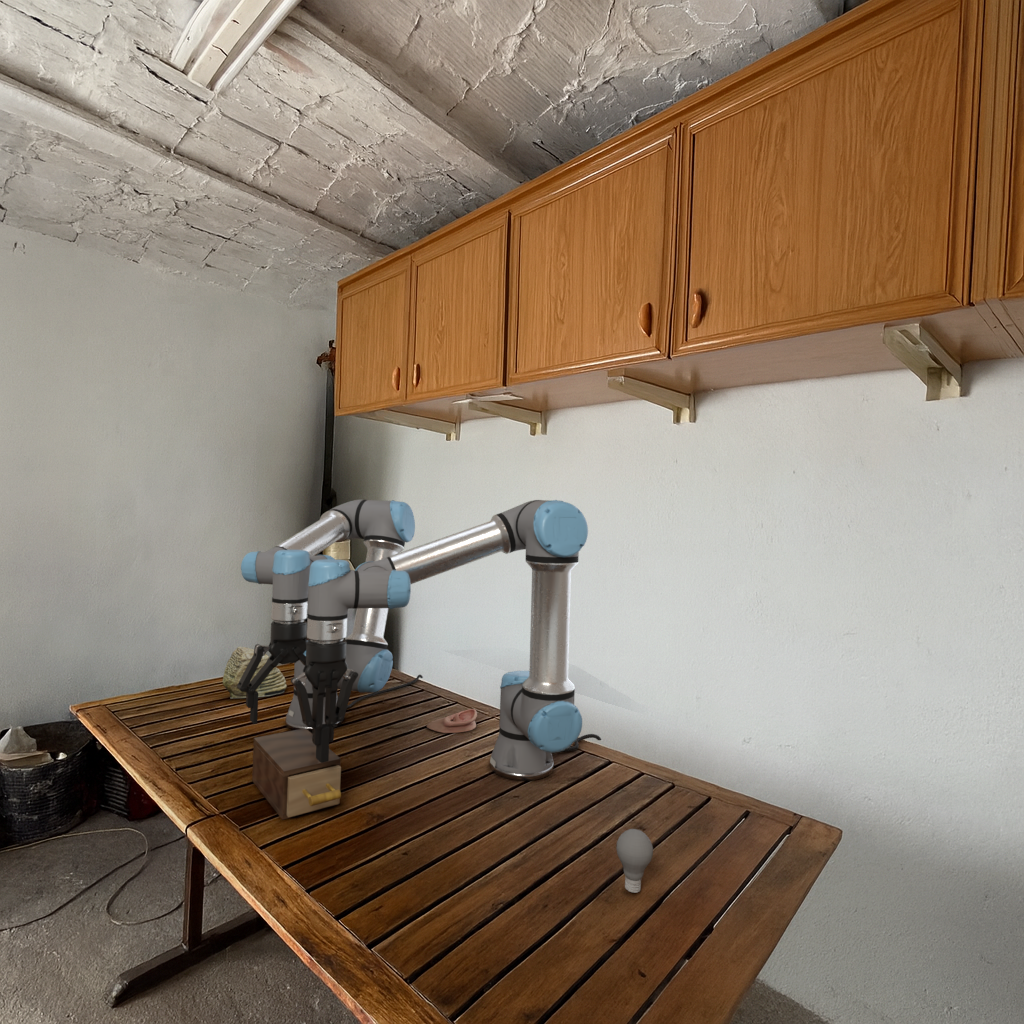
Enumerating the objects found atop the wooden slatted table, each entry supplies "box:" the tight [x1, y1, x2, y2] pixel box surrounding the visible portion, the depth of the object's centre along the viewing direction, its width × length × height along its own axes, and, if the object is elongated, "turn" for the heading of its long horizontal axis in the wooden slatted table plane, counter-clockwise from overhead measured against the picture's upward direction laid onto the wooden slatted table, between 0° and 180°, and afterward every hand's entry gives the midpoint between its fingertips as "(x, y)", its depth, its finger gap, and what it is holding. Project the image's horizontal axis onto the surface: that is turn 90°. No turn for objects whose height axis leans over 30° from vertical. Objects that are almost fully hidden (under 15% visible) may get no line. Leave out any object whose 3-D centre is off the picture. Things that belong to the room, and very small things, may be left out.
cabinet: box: [251, 728, 342, 820], centre depth 135 cm, size 20×12×10 cm, turn 38°
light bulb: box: [615, 828, 654, 894], centre depth 106 cm, size 6×6×10 cm
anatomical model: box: [426, 708, 478, 734], centre depth 178 cm, size 13×4×12 cm
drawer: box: [287, 765, 342, 818], centre depth 131 cm, size 24×10×8 cm, turn 38°
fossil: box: [222, 646, 288, 699], centre depth 198 cm, size 9×18×15 cm, turn 132°
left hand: (285, 716), depth 140 cm, fingers open, 13 cm apart
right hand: (322, 759), depth 124 cm, fingers closed
